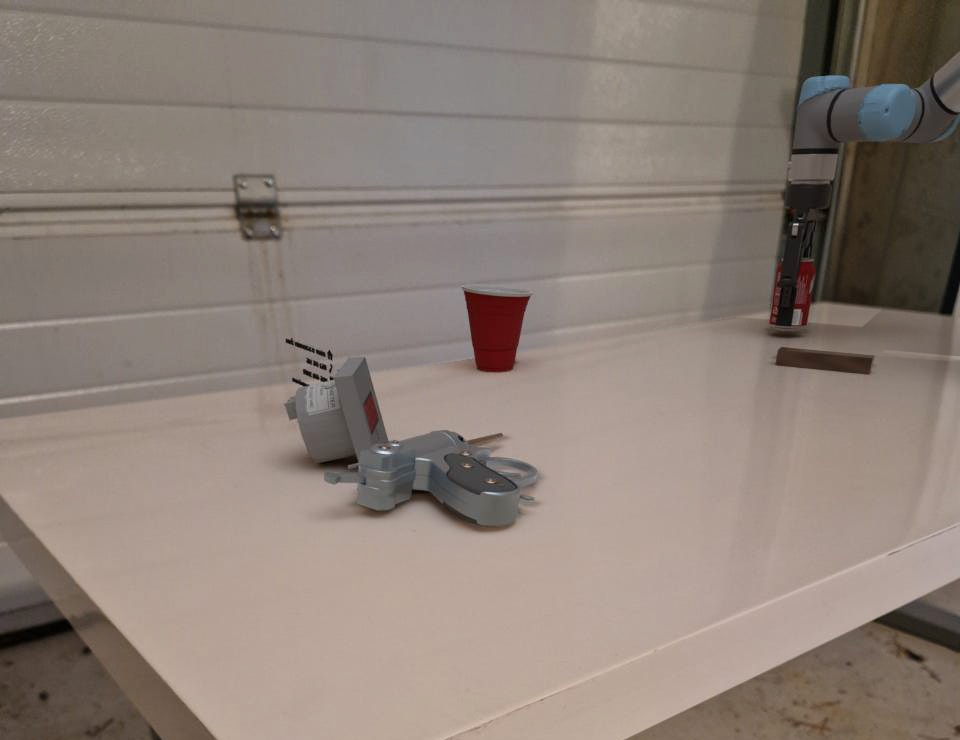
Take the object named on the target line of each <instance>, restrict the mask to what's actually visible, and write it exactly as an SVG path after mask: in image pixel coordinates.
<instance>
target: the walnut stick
mask: <svg viewBox="0 0 960 740" xmlns="http://www.w3.org/2000/svg"><path fill="white" fill-rule="evenodd" d="M875 357H876V356H875V355H873V354H863V353H852V352H841V351H829V350H821V349H820V350H819V349H808V348H796V347H784V346H781V347H780V348H778V349H777V353H776V359H775V366H781V367H782V366H783V367H792V368H802V369H811V370H823V371H832V372H842V373H851V374H861V375H870V374H871V372H872V370H873V366H874V361H875Z"/></svg>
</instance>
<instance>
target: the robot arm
mask: <svg viewBox="0 0 960 740" xmlns="http://www.w3.org/2000/svg"><path fill="white" fill-rule="evenodd" d="M850 83H851V82H850V78H849V77H848V76H846V75H823V76H822V75H819V76H812V77H811V76H810V77H809V78H807V79H806V80H805V81H804V82H803V84H802V86H801V91H800V95H799V100H798V104H797V107H796V119H795V129H794V136H793V143H792V144H793V145H792V150H791V157H790V160H789V161H787V163H786V168H788V169H789V171H788V176H787V180H788V181H789V182H791V183H790V184H788V185H787V186H786V188H785V196H784V203H783V206H784V208H785V209H789V210H790V209H791V210H792V209H793V210H795V212H794V215H793V220H790V222H788V225H787V231H786V232H787V233H786V234H787V235H786V241H785V247H784V253H783V257H782V258H783V264H782V270H781V276H780V280H779V283H777V287H781V292H780V299H779V305H778V312H777V318H776V325H775V326H787V327H791V326H792V320H793V313H794V307H795V301H796V295H797V288H796V286H797V280H798V275H799V271H800V266H801V262H802V258H813V254H814V248H815V241H816V235H817V229H818V225H819V220H818V219H816V210H823V209H825V210H826V209H828V208H829V207H830V203H831V197H832V191H833V186H832V184H830V183H831V181H833V180H834V179H835V175H836V169H837V164H838V157H839V149H840V144H841V143H854V142H855V143H856V142H857V143H858V142H875V143H877V142H880V143H881V142H882V143H912V144H913V143H915V144H928V143H935V142H940V141H942V140H944V139H946V138H948V137H949V136H950V135H951V134H953V132H954V131H955V130H956V128H957V126H958V124H959V123H960V50H959V51H958V52H957V53H955V55H954V56H952V58H951V59H949V60H948V61H947V62H946V63H945V64H944V65H943V66H942V67H941V68H940V69H939V70H937V71H936V72H935V73H934V74H932V75H931V76H930V77H929V78H928V79H927V80H926V81H925V82H924V83H923V84H922V85H920V86H918V87H909V85H907V84H904V83H881V84H879V85H873V86H864V87H855V88H850Z"/></svg>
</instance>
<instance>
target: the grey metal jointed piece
mask: <svg viewBox="0 0 960 740" xmlns="http://www.w3.org/2000/svg"><path fill="white" fill-rule="evenodd" d="M503 437H504V434H503V432H499V433H494V434H490V435H489V434H488V435H486V436H481V437H477V438H472V439H468V440H467V439H466V438H464V437H463V436H462V435H461V434H459V433H458V432H456V431H450V430H449V429H440V430H434V431H433V430H432V431H430V432H428V433H424V434H421V435H416V436H413V437H409V438H406V439H402V440H397V439H393V440H388V441H389V442H387V444H373V445H371V446H370V447H369V449H367V450H363V451H361V455H360V458H359V462H358V463H359V465H358V466H359V467H358V471H353V472H352V471H349V472H348V471H347V472H346V471H345V472H343V471H342V472H341V471H340V472H334V471H330V470H325V471H324V472H323V481H324V482H326V483H328V484H330V485H333V486H335V485H337V484H338V483H340V484H357V487H356V491H357V503H356V504H358V505H360V506H362V507H366V508H368V509H372V510H375V511H381V512H382V511H391V510H393V509H394V508H395V507H396V505H398V504H400V503H403V502H406V501H408V500H411V499H412V493H413V490H414V491H424V492H428V493H430V494H431V495H433V496H434V498H436V499H437V500H438V502H440V503H441V504H442V505H444V506H445V507H446V508H447V509H448V510H450V511H451V512H453V513H455V514H456V515H457V516H459V517H461V518H462V519H463V520H466V521H468V522H470V523H471V524H474V525H477V526H480V527H485V528H486V527H487V528H496V527H505V526H509V525H512V524H514V523H515V522H516V521H517V517H518V511H519V504H520V499H521V500H524V501H533V502H534V501H535V500H536V499H535V497H534V496H531V495H527V494H523V493H521V492H522V490H521V488H523V487H528V486H530V485H532V484H534V483H535V482H536V481H537V478H538V477H537V476H538V469H537V468H536V467H535V466H534V465H532V464H530V463H528V462H525V461H523V460H518V459H516V458H515V459H514V458H509V457H504V456H503V457H502V456H491V452H492V449H491V448H489V447H481V446H485V445H486V444H490V443H492V442H494V441H497V440H499V439H502V438H503ZM493 467H506V468H513V469H517V470H520V471H522V472H525V473H527V474H528V475H526V476H523V477H522V474H521V472H508V471H501V470H498V469H497V470H496V469H492V468H493Z"/></svg>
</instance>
